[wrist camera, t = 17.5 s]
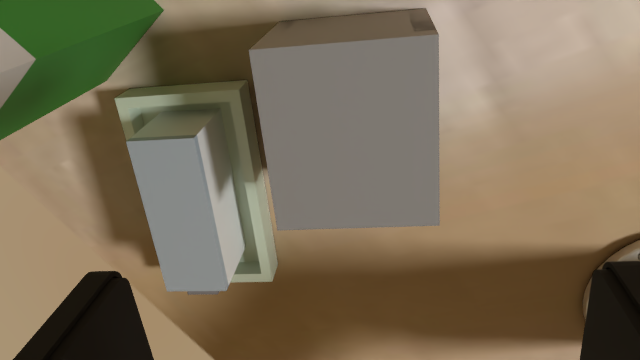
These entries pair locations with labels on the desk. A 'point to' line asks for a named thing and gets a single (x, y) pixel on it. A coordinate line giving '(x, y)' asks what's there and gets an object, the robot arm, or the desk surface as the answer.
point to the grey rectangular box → (351, 120)
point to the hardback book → (62, 51)
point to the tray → (243, 153)
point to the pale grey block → (189, 199)
